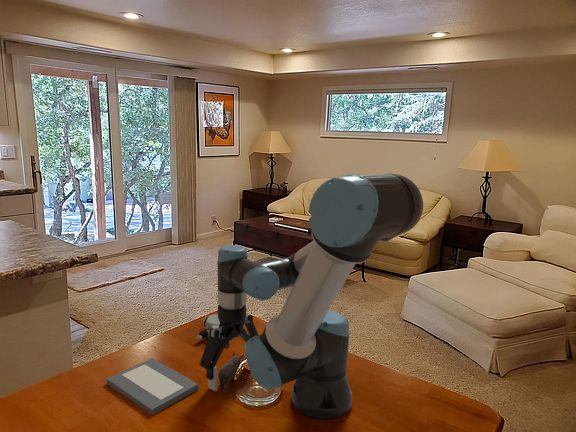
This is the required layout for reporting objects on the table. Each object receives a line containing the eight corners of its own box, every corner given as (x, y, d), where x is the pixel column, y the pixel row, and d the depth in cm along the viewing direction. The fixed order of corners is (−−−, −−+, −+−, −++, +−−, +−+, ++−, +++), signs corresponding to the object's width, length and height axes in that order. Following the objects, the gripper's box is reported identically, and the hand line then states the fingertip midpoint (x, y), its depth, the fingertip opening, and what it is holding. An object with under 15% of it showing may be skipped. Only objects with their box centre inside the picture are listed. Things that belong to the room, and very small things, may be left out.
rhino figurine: (247, 367, 125) (248, 348, 123) (229, 394, 111) (229, 373, 110) (234, 365, 126) (234, 345, 124) (214, 391, 112) (214, 370, 111)
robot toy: (232, 349, 137) (241, 325, 151) (232, 336, 135) (241, 313, 150) (194, 346, 137) (206, 323, 152) (194, 334, 136) (206, 311, 151)
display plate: (198, 389, 113) (198, 383, 113) (152, 415, 102) (152, 409, 102) (152, 362, 125) (152, 357, 125) (106, 383, 114) (106, 378, 114)
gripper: (253, 288, 126) (252, 355, 130) (184, 314, 107) (185, 392, 111) (273, 294, 122) (271, 364, 126) (205, 323, 102) (205, 404, 106)
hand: (231, 378), depth 118 cm, fingers open, 13 cm apart
